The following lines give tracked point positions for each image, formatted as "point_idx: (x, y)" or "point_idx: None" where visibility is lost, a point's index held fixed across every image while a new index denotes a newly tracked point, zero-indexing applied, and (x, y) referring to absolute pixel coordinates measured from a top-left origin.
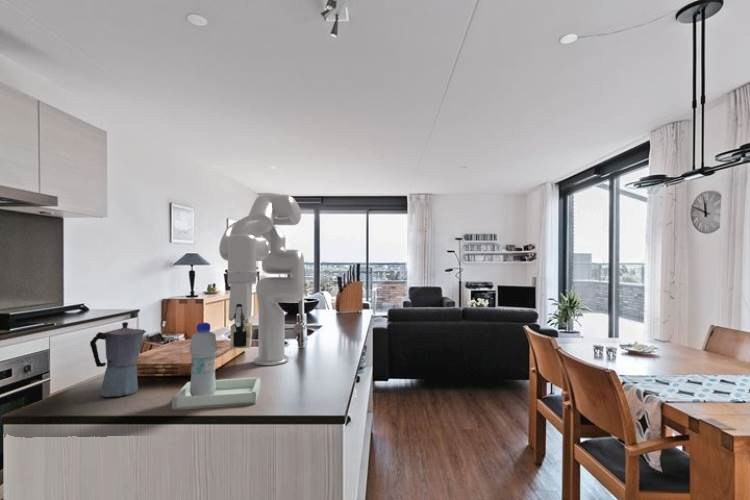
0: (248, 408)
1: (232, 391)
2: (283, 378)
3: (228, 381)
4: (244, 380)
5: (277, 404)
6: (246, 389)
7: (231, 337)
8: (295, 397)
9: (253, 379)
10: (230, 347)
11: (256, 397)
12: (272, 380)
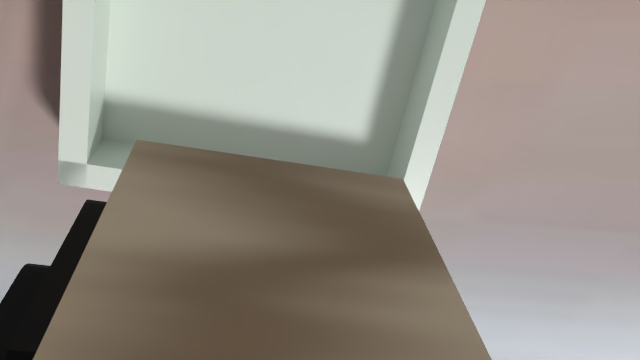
0: (13, 109)
1: (352, 28)
2: (511, 324)
3: (451, 12)
4: (415, 126)
5: (44, 258)
6: (353, 119)
7: (99, 239)
8: None
9: None
10: (134, 148)
11: None
12: (507, 269)
